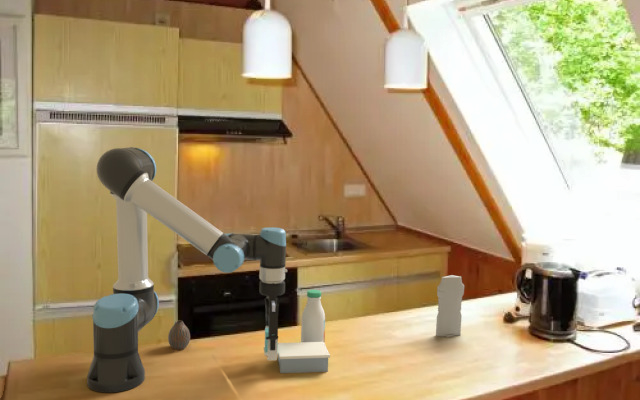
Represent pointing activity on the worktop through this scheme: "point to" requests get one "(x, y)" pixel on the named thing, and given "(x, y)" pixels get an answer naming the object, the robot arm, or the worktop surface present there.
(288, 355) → the lid
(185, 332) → the vase
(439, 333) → the tall pale column
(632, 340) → the worktop surface
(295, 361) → the tub
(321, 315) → the milk bottle
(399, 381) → the worktop surface
